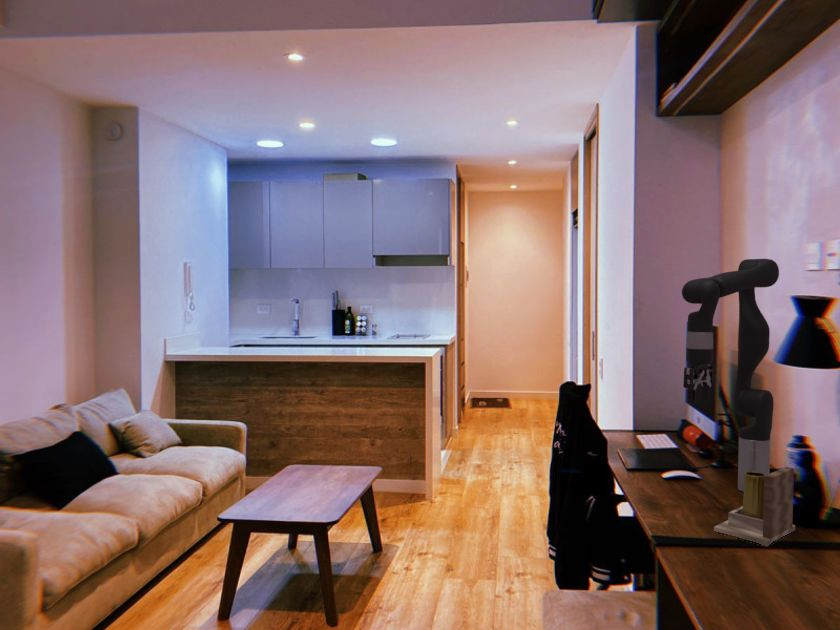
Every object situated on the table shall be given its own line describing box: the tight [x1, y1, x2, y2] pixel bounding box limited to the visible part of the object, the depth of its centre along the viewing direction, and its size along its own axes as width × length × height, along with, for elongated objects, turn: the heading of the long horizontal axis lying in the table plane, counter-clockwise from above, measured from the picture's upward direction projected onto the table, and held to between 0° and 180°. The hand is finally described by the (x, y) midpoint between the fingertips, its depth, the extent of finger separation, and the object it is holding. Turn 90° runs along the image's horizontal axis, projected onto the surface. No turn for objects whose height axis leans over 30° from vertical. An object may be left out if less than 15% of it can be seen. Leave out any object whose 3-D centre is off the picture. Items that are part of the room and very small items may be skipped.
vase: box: [742, 471, 765, 520], centre depth 191 cm, size 6×6×14 cm
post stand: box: [713, 466, 796, 548], centre depth 191 cm, size 18×14×18 cm
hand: (698, 400), depth 211 cm, fingers open, 8 cm apart
